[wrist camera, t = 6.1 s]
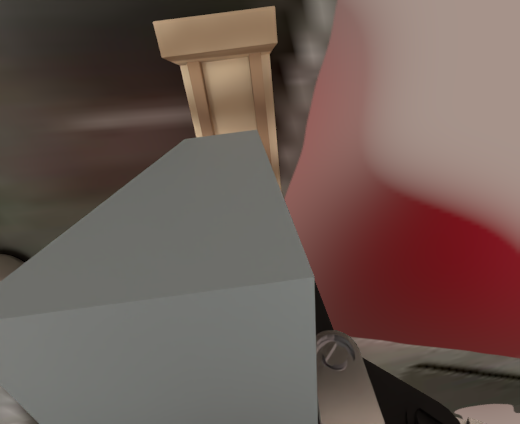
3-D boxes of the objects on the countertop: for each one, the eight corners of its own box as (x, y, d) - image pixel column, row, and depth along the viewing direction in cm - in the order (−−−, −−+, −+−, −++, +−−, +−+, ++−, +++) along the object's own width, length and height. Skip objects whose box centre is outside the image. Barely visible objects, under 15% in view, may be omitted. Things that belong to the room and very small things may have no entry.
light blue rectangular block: (184, 139, 10) (-58, 327, 2) (257, 129, 10) (314, 276, 2) (233, 334, 15) (221, 603, 7) (280, 327, 15) (321, 589, 7)
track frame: (175, 39, 21) (152, 21, 16) (266, 27, 21) (274, 5, 16) (225, 260, 32) (221, 294, 26) (285, 252, 32) (294, 284, 26)
